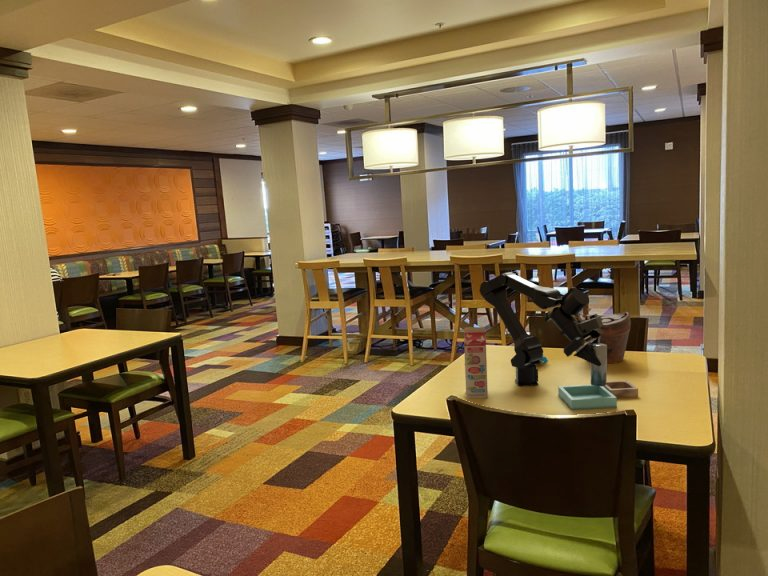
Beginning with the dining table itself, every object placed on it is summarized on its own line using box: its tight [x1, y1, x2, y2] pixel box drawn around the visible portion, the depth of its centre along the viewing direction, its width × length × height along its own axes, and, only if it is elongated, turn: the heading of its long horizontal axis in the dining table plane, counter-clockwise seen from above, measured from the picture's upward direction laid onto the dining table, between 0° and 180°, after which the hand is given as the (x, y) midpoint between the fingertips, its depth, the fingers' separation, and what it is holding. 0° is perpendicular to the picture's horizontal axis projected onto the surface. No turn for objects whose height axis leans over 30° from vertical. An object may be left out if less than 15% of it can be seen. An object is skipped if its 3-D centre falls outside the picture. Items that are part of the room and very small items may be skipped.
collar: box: [603, 379, 639, 399], centre depth 183 cm, size 8×8×2 cm
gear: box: [540, 355, 549, 364], centre depth 221 cm, size 11×6×10 cm
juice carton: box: [463, 326, 489, 399], centre depth 187 cm, size 7×7×22 cm
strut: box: [590, 343, 608, 386], centre depth 177 cm, size 4×4×12 cm
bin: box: [557, 384, 618, 411], centre depth 177 cm, size 13×13×3 cm
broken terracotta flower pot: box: [578, 311, 632, 364], centre depth 220 cm, size 18×20×18 cm
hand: (603, 363), depth 176 cm, fingers closed on strut, 4 cm apart
